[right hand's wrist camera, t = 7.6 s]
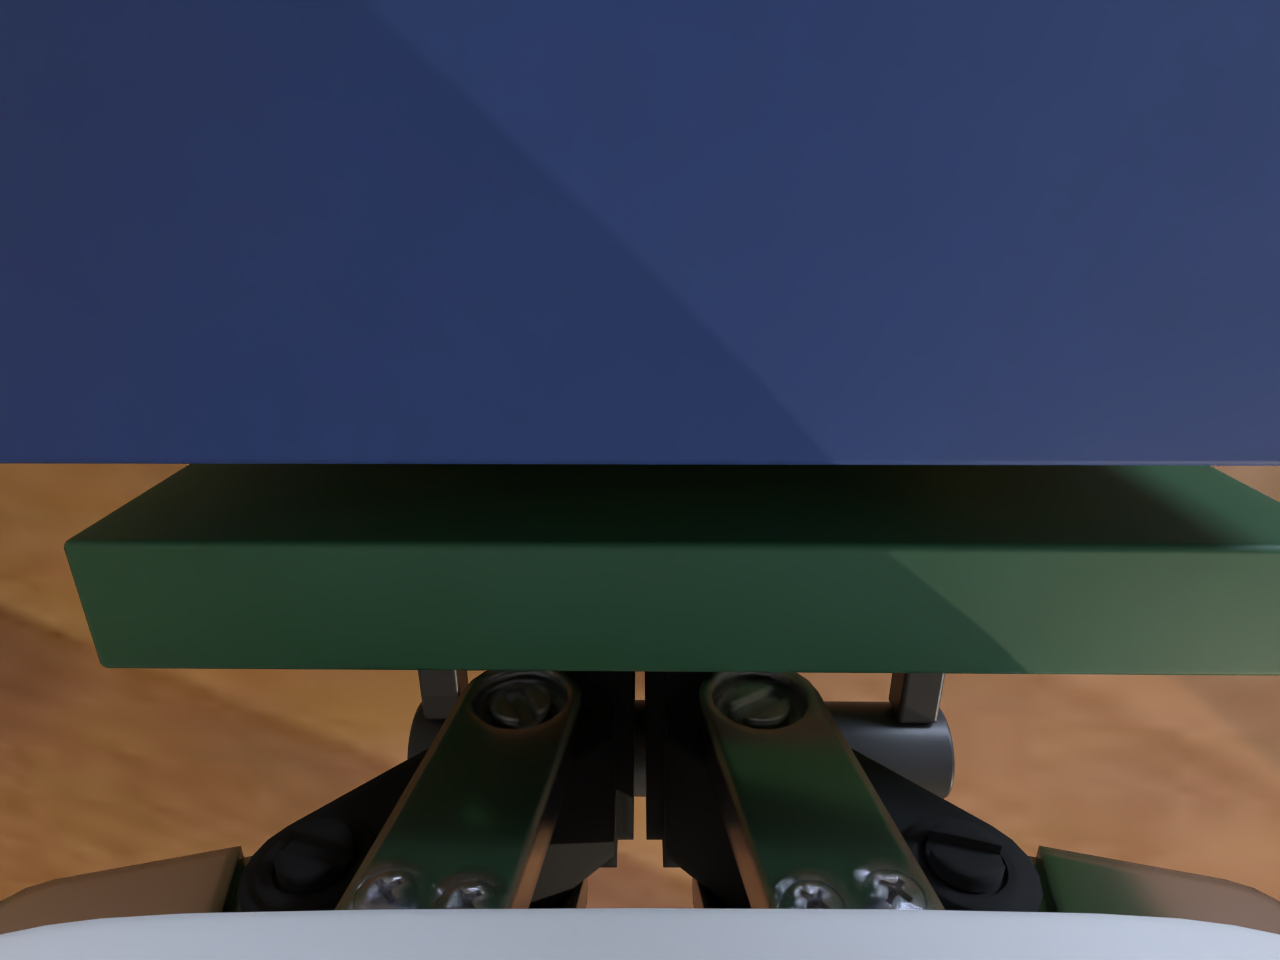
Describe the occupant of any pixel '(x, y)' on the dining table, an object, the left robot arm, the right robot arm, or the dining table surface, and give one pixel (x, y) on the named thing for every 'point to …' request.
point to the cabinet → (640, 232)
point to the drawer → (693, 577)
